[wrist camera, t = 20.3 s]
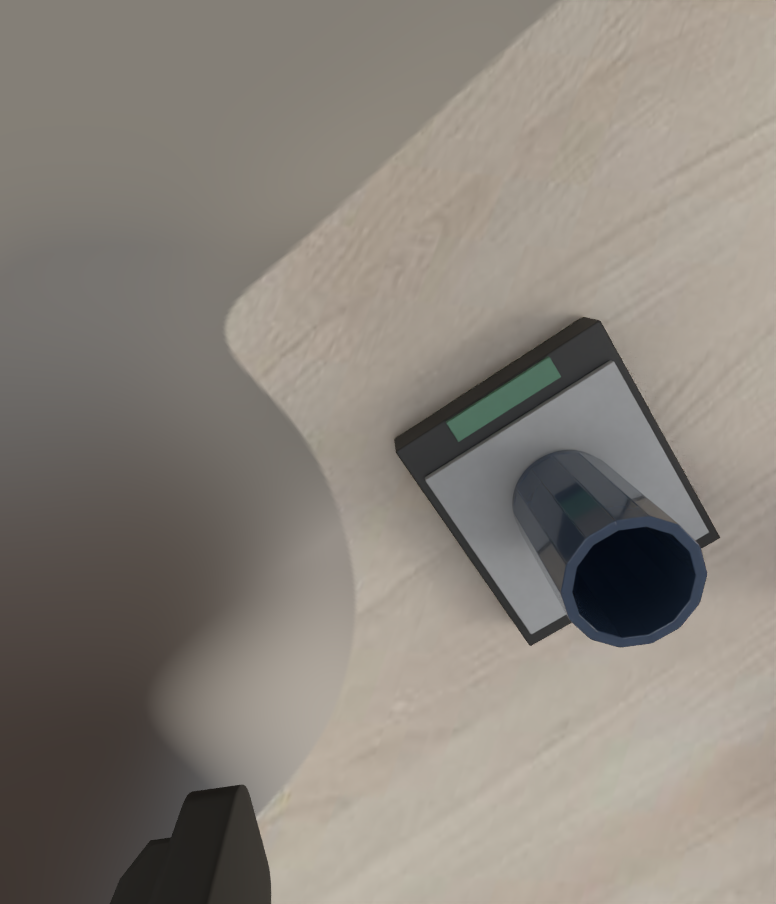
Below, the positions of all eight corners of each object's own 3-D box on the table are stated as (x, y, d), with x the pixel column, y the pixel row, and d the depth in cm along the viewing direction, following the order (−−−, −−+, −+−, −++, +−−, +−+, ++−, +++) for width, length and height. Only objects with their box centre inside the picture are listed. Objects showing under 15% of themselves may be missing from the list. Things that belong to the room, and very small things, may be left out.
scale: (393, 439, 34) (395, 454, 31) (583, 315, 33) (604, 320, 30) (520, 623, 38) (532, 652, 35) (697, 520, 36) (726, 541, 33)
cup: (491, 487, 32) (535, 567, 23) (586, 428, 31) (668, 489, 23) (543, 567, 33) (603, 671, 25) (636, 512, 33) (731, 599, 24)
